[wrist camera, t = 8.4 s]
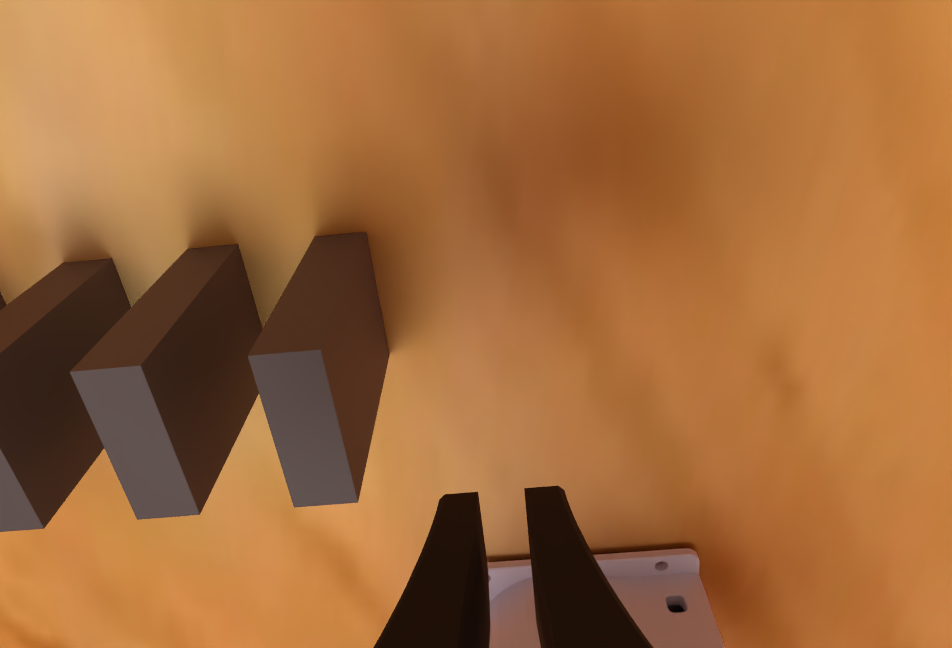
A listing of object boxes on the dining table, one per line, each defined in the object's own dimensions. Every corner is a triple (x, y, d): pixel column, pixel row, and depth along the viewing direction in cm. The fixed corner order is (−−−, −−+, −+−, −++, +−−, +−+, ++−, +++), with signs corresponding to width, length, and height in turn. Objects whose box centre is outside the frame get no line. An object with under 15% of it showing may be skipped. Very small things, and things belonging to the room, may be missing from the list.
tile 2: (237, 244, 21) (140, 365, 15) (272, 365, 23) (200, 514, 17) (187, 249, 21) (69, 371, 15) (226, 368, 23) (137, 519, 17)
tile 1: (366, 231, 21) (320, 349, 15) (389, 354, 23) (358, 502, 17) (314, 236, 21) (247, 355, 15) (342, 358, 23) (294, 507, 17)
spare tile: (112, 258, 21) (-36, 383, 15) (157, 376, 23) (44, 528, 17) (62, 263, 21) (-105, 389, 15) (112, 380, 24) (-17, 533, 17)
